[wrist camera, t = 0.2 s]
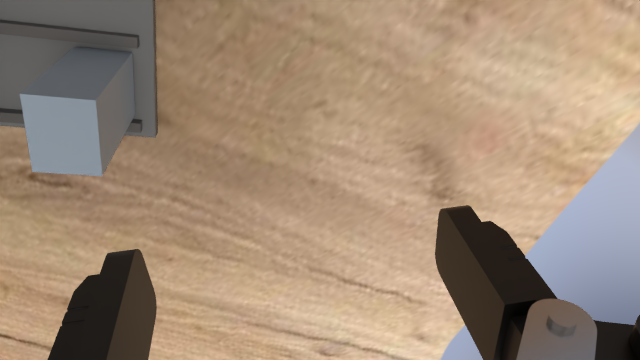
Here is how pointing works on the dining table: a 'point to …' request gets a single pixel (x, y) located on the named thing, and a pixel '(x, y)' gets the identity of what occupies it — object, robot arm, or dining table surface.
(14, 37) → the tray
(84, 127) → the slate blue key
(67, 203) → the dining table surface
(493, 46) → the dining table surface
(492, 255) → the robot arm
